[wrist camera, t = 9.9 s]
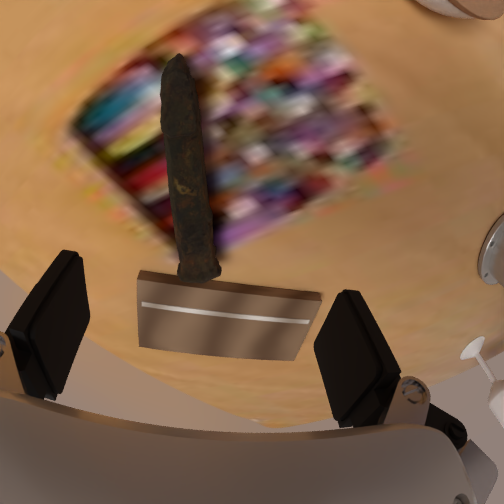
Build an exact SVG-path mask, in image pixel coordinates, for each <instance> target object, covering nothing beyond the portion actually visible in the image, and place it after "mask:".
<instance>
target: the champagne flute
mask: <svg viewBox="0 0 504 504" xmlns="http://www.w3.org/2000/svg"><path fill="white" fill-rule="evenodd" d="M484 340H485V337H484V336H481V337H478V338H476V339H475V340H473V341H472V342H471V343H470V344H468V345H467V347H466V348H465V349H464V350H463V352H462V353H461V356H460V359H462V360H464V359H468V358H472V357H476V359H477V361H478V362H479V364H480V365H481V367H482V368H483V370H484V371H485V373H486V375H487V376H488V378H489V380H490V381H491V383H492V384H493V385H492V387H491V390H490V394H489V399H488V406H489V408H490V409H491V411H492V412H493V414H494V415H495V416H496V418H497V420H498V421H499V423H500V424H501V426H502V427H503V428H504V380H498V381H497V380H496V378H495V376H494V375H493V373H492V372H491V370H490V369H489V367H488V365H487V364H486V362H485V361H484V359H483V358H482V356H481V355H480V353H479V352H480V350H481V348H482V345H483V343H484Z"/></svg>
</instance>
